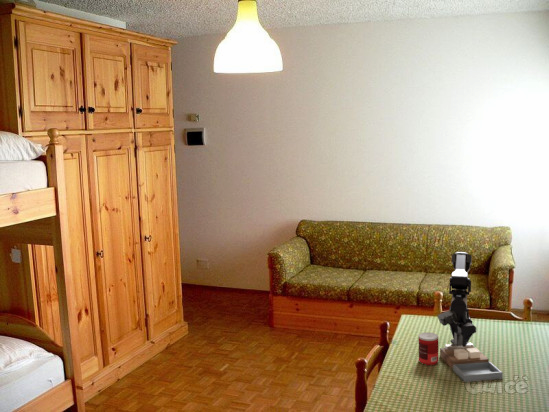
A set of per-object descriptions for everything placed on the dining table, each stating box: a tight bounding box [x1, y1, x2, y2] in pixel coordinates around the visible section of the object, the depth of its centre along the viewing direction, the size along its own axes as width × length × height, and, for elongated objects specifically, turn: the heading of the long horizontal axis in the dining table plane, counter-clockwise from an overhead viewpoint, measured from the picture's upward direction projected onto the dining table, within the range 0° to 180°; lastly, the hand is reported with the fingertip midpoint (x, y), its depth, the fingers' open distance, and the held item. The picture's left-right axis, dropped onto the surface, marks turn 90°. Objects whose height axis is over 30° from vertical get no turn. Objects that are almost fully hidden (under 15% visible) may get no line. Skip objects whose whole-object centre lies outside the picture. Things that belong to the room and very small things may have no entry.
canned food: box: [418, 331, 439, 366], centre depth 235 cm, size 8×8×11 cm
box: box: [452, 361, 504, 383], centre depth 223 cm, size 10×15×2 cm, turn 96°
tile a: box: [454, 349, 468, 360], centre depth 231 cm, size 4×4×2 cm
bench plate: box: [439, 345, 490, 370], centre depth 234 cm, size 14×14×4 cm
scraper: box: [444, 332, 474, 352], centre depth 238 cm, size 2×11×7 cm, turn 96°
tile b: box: [466, 347, 481, 358], centre depth 231 cm, size 4×4×2 cm
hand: (459, 342), depth 238 cm, fingers open, 9 cm apart
